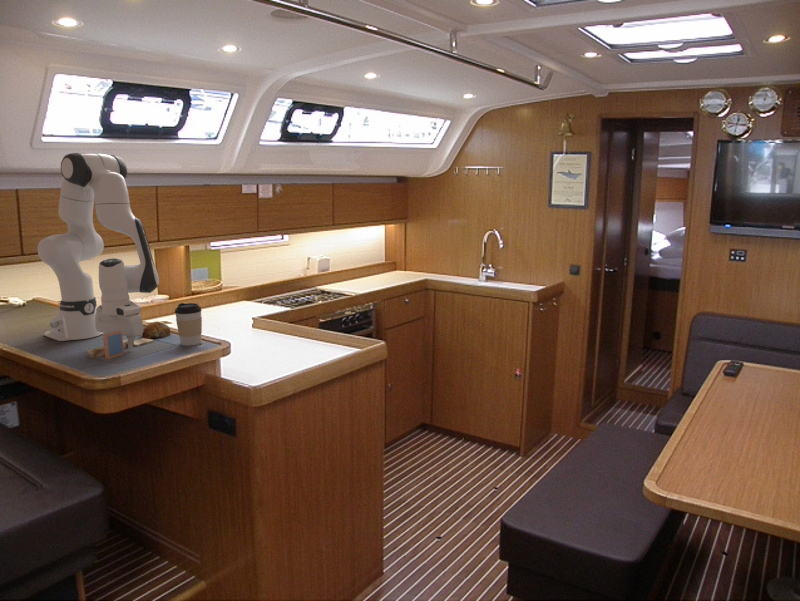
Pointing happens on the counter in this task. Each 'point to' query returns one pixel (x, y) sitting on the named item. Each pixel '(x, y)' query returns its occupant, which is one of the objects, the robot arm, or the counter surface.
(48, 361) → the counter surface
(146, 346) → the mat
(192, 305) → the coffee cup
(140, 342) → the spatula
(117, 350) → the tile
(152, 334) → the bread roll
